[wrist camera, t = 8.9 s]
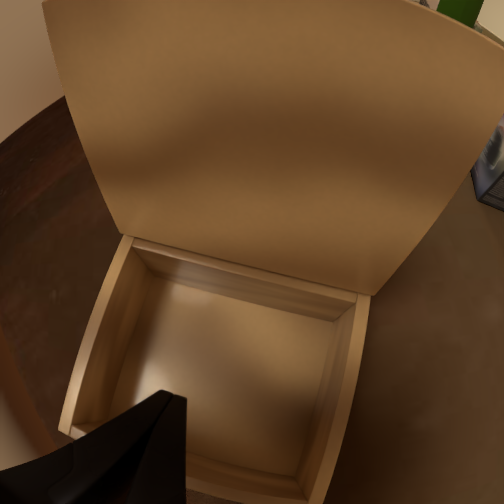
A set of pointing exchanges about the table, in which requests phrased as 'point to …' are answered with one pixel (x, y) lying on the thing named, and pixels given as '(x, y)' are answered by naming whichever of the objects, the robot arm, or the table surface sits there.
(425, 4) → the wine bottle
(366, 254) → the chest lid
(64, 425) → the chest
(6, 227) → the table surface
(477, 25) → the medication box
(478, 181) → the small box
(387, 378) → the table surface
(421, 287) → the table surface
